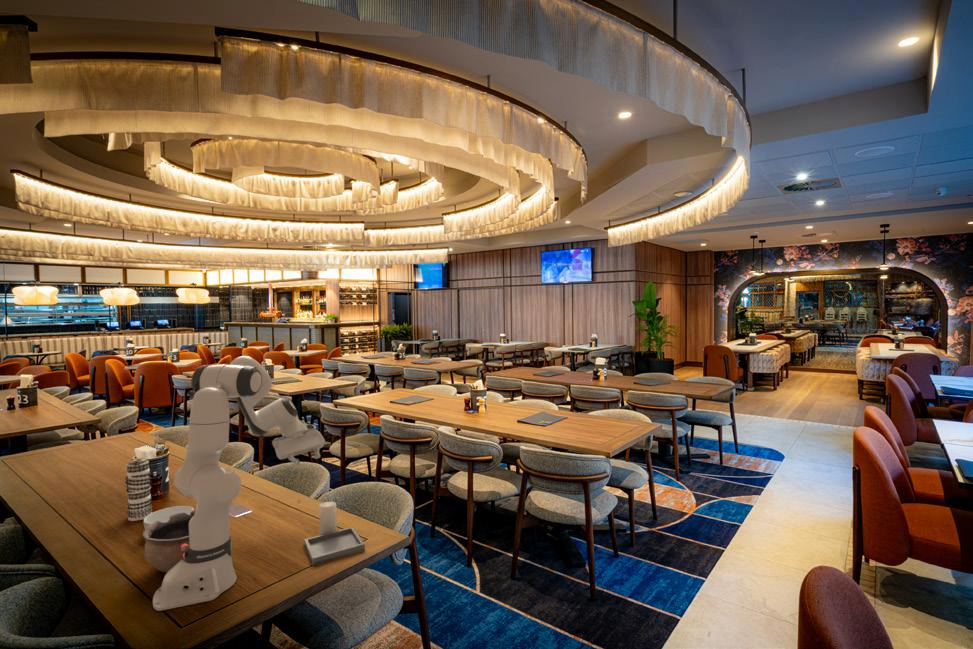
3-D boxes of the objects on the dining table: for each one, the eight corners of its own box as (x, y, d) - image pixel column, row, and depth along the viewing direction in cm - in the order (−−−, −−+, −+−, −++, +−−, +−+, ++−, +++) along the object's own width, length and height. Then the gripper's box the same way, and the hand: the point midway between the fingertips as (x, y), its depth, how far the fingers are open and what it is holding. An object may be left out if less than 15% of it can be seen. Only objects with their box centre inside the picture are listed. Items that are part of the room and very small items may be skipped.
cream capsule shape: (321, 537, 179) (320, 509, 179) (318, 531, 185) (317, 504, 184) (338, 533, 183) (337, 505, 182) (334, 527, 188) (334, 500, 188)
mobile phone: (235, 516, 198) (219, 508, 207) (235, 518, 198) (220, 510, 207) (253, 510, 204) (237, 502, 213) (253, 512, 204) (237, 504, 213)
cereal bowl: (169, 543, 177) (168, 525, 177) (133, 539, 181) (132, 522, 181) (204, 523, 194) (203, 506, 194) (170, 520, 197) (170, 503, 197)
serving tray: (312, 565, 160) (312, 558, 160) (304, 545, 173) (304, 539, 173) (364, 550, 169) (364, 543, 169) (352, 533, 183) (352, 526, 183)
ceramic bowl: (207, 543, 177) (205, 504, 176) (231, 562, 163) (229, 520, 163) (136, 569, 160) (134, 526, 159) (156, 592, 146) (154, 545, 145)
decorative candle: (158, 511, 206) (156, 456, 205) (141, 521, 197) (138, 463, 196) (139, 511, 207) (137, 456, 206) (121, 521, 198) (118, 462, 197)
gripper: (273, 435, 188) (286, 463, 182) (318, 424, 204) (332, 450, 198) (267, 444, 190) (281, 472, 185) (313, 432, 207) (326, 458, 201)
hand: (308, 460), depth 192 cm, fingers open, 8 cm apart
